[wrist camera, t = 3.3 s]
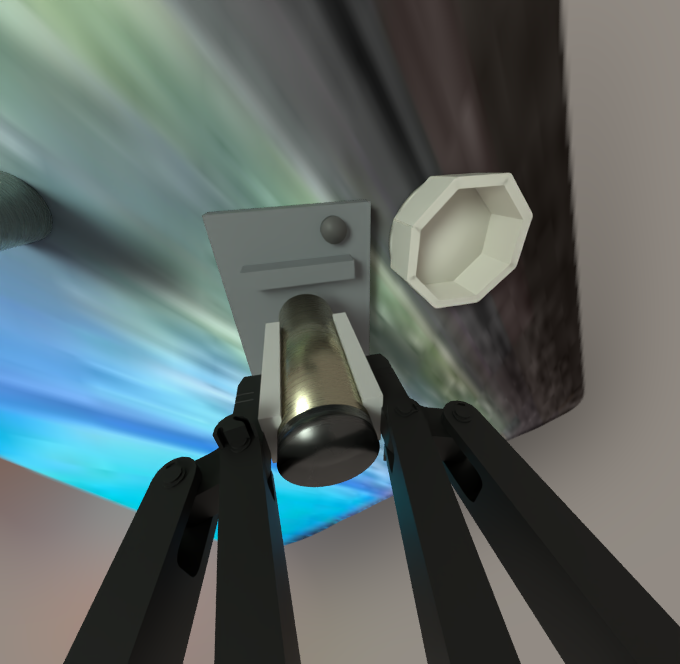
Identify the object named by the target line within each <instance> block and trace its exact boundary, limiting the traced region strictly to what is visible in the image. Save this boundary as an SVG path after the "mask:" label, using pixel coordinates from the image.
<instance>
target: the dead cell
mask: <svg viewBox="0 0 680 664" xmlns="http://www.w3.org/2000/svg"><path fill="white" fill-rule="evenodd" d="M332 314H333V313H332V310H331V308H330V306H329V304H328V303H327V302H326V301H325V300H324V299H322V298H321V297H319V296H316V295H313V294H301V295H297V296H294V297H292V298H290V299H289V300H288V301H286V302H285V303H284V305H283V306H282V307H281V309H280V312H279V320H278V322H280V327H281V392H282V422H281V424H280V426H279V428H278V432H277V469H278V471H279V473H280V475H281V476H282V477H283V478H284V479H285V480H287V481H289V482H291V483H293V484H296V485H300V486H306V487H323V486H330V485H334V484H338V483H341V482H344V481H347V480H349V479H352V478H354V477H355V476H357V475H359V474H361V473H362V472H363V471H365V470H366V469H367V468H368V467H369V466H370V465H371V464H372V463H373V462H374V461H375V459H376V458H377V456H378V453H379V449H380V444H379V440H378V437H377V434H376V432H375V429H374V426H373V423H372V421H371V418H370V415H369V413H368V411H367V410H366V408H365V407H364V406H363V404H362V401H361V398H360V395H359V393H358V390H357V387H356V384H355V381H354V378H353V376H352V373H351V370H350V367H349V364H348V361H347V359H346V356H345V353H344V350H343V347H342V344H341V342H340V339H339V336H338V333H337V330H336V327H335V325H334V322H333V316H332Z"/></svg>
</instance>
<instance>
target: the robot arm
mask: <svg viewBox="0 0 680 664" xmlns="http://www.w3.org/2000/svg"><path fill="white" fill-rule="evenodd" d="M332 316H333V322H334V325H335V327H336V330H337V333H338V336H339V339H340V342H341V344H342V347H343V350H344V353H345V356H346V359H347V361H348V364H349V367H350V370H351V373H352V376H353V378H354V381H355V384H356V387H357V390H358V393H359V395H360V398H361V401H362V404H363V406H364V407H365V408H366V410H367V411H368V413H369V415H370V418H371V421H372V423H373V426H374V429H375V432H376V434H377V437H378V440H380V438H381V434H382V437H383V439H384V442H385V444H384V461H387V466H388V471H389V476H390V481H391V486H392V490H393V495H394V500H395V505H396V510H397V515H398V520H399V525H400V530H401V535H402V540H403V544H404V550H405V554H406V559H407V564H408V569H409V574H410V579H411V584H412V588H413V594H414V598H415V603H416V608H417V613H418V618H419V623H420V628H421V633H422V638H423V643H424V648H425V653H426V657H427V663H428V664H521V663H520V661H519V658H518V655H517V653H516V650H515V648H514V645H513V643H512V640H511V638H510V635H509V632H508V630H507V627H506V625H505V622H504V619H503V617H502V614H501V612H500V609H499V607H498V604H497V601H496V599H495V596H494V594H493V591H492V589H491V586H490V583H489V581H488V579H487V576H486V573H485V571H484V568H483V566H482V563H481V560H480V558H479V555H478V553H477V550H476V547H475V545H474V542H473V540H472V537H471V535H470V532H469V529H468V527H467V524H466V522H465V519H464V517H463V514H462V512H461V509H460V506H459V504H458V501H457V499H456V496H455V493H454V491H453V488H452V486H453V487H454V489H455V490H456V492H457V494H458V495H459V497H460V498H461V500H462V501H463V503H464V505H465V506H466V508H467V509H468V511H469V513H470V514H471V516H472V517H473V519H474V520H475V522H476V523H477V525H478V527H479V528H480V530H481V532H482V533H483V535H484V536H485V538H486V539H487V541H488V543H489V544H490V546H491V547H492V549H493V550H494V552H495V553H496V555H497V557H498V558H499V560H500V561H501V563H502V565H503V566H504V568H505V569H506V571H507V572H508V574H509V575H510V577H511V579H512V580H513V582H514V583H515V585H516V587H517V588H518V590H519V591H520V593H521V595H522V596H523V598H524V599H525V601H526V602H527V604H528V606H529V607H530V609H531V610H532V612H533V614H534V615H535V617H536V618H537V620H538V621H539V623H540V625H541V626H542V628H543V629H544V631H545V632H546V634H547V636H548V637H549V639H550V640H551V642H552V644H553V645H554V647H555V648H556V650H557V651H558V653H559V655H560V656H561V658H562V659H563V661H564V662H565V664H680V627H679V625H678V624H677V623H676V622H675V621H674V620H673V619H672V618H671V617H670V616H669V615H668V614H667V613H666V612H665V610H664V609H663V608H662V607H661V606H660V605H659V604H658V603H657V602H656V601H655V600H654V599H653V598H652V597H651V595H650V594H649V593H648V592H647V591H646V590H645V589H644V588H643V587H642V586H641V585H640V584H639V583H638V581H637V580H635V578H634V577H633V576H632V575H631V574H630V573H629V572H628V571H627V570H626V569H625V568H624V567H623V566H622V564H621V563H620V562H619V561H618V560H617V559H616V558H615V557H614V556H613V555H612V554H611V553H610V552H609V551H608V549H607V548H606V547H605V546H604V545H603V544H602V543H601V542H600V541H599V540H598V539H597V538H596V537H595V535H593V533H592V532H591V531H590V530H589V529H588V528H587V527H586V526H585V525H584V524H583V523H582V522H581V520H580V519H578V517H577V516H576V515H575V514H574V513H573V512H572V511H571V510H570V509H569V508H568V507H567V505H566V504H565V503H564V502H563V501H562V500H561V499H560V498H559V497H558V496H557V495H556V494H555V493H554V492H553V490H552V489H551V488H550V487H549V486H548V485H547V484H546V483H545V482H544V481H543V480H542V479H541V478H540V477H539V476H538V474H537V473H536V472H535V471H534V470H533V469H532V468H531V467H530V466H529V465H528V464H527V463H526V462H525V461H524V459H523V458H521V456H520V455H519V454H518V453H517V452H516V451H515V450H514V449H513V448H512V447H511V446H510V444H509V443H508V442H507V441H506V440H505V439H504V438H503V437H502V436H501V435H500V434H499V433H498V432H497V431H496V429H495V428H494V427H493V426H492V425H491V424H490V423H489V422H488V421H487V420H486V419H485V418H484V417H483V416H482V414H481V413H480V412H479V411H478V410H477V409H476V408H474V407H473V406H472V405H470V404H468V403H466V402H462V401H450V402H449V403H447V404H446V405H445V407H444V408H443V409H439V408H428V407H423V406H420V405H419V404H418V403H417V402H416V401H414V400H413V399H410V398H409V397H408V395H407V393H406V392H405V390H404V388H403V386H402V384H401V383H400V381H399V379H398V377H397V376H396V374H395V372H394V370H393V368H392V367H391V365H390V363H389V361H388V360H387V359H386V358H385V357H384V356H382V355H381V354H374V355H368V356H365V355H364V352H363V350H362V348H361V346H360V344H359V341H358V339H357V337H356V335H355V333H354V330H353V328H352V326H351V324H350V322H349V319H348V317H347V315H346V313H345V312H344V313H337V314H332ZM281 422H282V392H281V327H280V322H273V323H266V325H265V338H264V350H263V363H262V374H260V375H254V376H248V377H244V378H243V379H242V381H241V382H240V384H239V385H238V389H237V396H236V400H235V406H234V411H233V414H232V415H229V416H227V417H225V418H224V419H223V420H221V421H220V422H219V423H218V425H217V426H216V427H215V429H214V432H213V437H214V439H215V441H216V443H217V445H218V446H219V448H218V449H216V450H215V451H213V452H212V453H210V454H208V455H206V456H204V457H202V458H200V459H198V460H195V461H194V460H193V459H191V458H190V457H180V458H176V459H173V460H172V461H170V462H168V463H167V464H165V465H164V466H163V467H162V468H161V469H160V470H159V471H158V472H157V473H156V475H155V476H154V478H153V479H152V481H151V483H150V485H149V488H148V490H147V492H146V494H145V496H144V498H143V500H142V502H141V504H140V506H139V508H138V510H137V512H136V514H135V516H134V519H133V521H132V523H131V525H130V527H129V529H128V531H127V533H126V535H125V537H124V539H123V541H122V543H121V545H120V547H119V550H118V552H117V554H116V556H115V558H114V560H113V562H112V564H111V566H110V568H109V570H108V572H107V575H106V576H105V578H104V580H103V583H102V585H101V587H100V589H99V591H98V593H97V595H96V597H95V599H94V601H93V603H92V605H91V608H90V610H89V612H88V614H87V616H86V618H85V620H84V622H83V624H82V626H81V628H80V630H79V632H78V634H77V636H76V638H75V641H74V643H73V645H72V647H71V649H70V651H69V653H68V655H67V657H66V659H65V661H64V663H63V664H183V660H184V656H185V652H186V648H187V644H188V640H189V636H190V632H191V628H192V624H193V619H194V615H195V611H196V607H197V603H198V599H199V595H200V591H201V586H202V583H203V579H204V575H205V571H206V566H207V562H208V558H209V554H210V550H211V546H212V542H213V538H214V534H215V530H216V526H217V522H218V551H217V553H218V554H217V587H216V588H217V589H216V590H217V591H216V623H215V627H216V628H215V660H214V664H301V661H300V654H299V648H298V641H297V634H296V627H295V620H294V613H293V606H292V600H291V593H290V586H289V579H288V572H287V566H286V559H285V552H284V545H283V539H282V532H281V525H280V518H279V511H278V505H277V498H276V491H275V484H274V477H273V474H272V471H271V458H272V461H273V463H276V462H277V432H278V428H279V426H280V424H281ZM451 484H452V486H451Z"/></svg>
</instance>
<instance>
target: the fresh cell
mask: <svg viewBox="0 0 680 664" xmlns="http://www.w3.org/2000/svg"><path fill="white" fill-rule="evenodd" d="M52 223H53V222H52V216H51V213H50V210H49V208H48V206H47V204H46V203H45V201H44V200H43V199H42V198H41V196H40V195H39V194H38V193H37V192H36V191H35V190H34V189H33V188H31V187H30V186H29V185H28V184H26V183H25V182H23V181H22V180H20V179H19V178H17V177H15V176H13V175H11V174H8V173H6V172H3V171H0V251H3V250H7V249H10V248H14V247H17V246H21V245H24V244H28V243H32V242H35V241H38V240H41V239H43V238H45V237H46V236H47V235H48V234H49V233H50V231H51V229H52Z"/></svg>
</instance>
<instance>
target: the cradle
mask: <svg viewBox="0 0 680 664" xmlns="http://www.w3.org/2000/svg"><path fill="white" fill-rule="evenodd" d="M370 215H371V202H370V201H367V200H352V201H339V202H327V203H315V204H302V205H290V206H278V207H265V208H253V209H241V210H228V211H216V212H207V213H205V214H204V215H202V218H203V221H204V224H205V228H206V231H207V234H208V237H209V240H210V243H211V247H212V250H213V253H214V256H215V259H216V263H217V266H218V269H219V272H220V275H221V278H222V282H223V285H224V288H225V291H226V294H227V298H228V301H229V304H230V307H231V310H232V313H233V317H234V320H235V323H236V326H237V329H238V333H239V336H240V339H241V342H242V345H243V348H244V352H245V355H246V358H247V361H248V364H249V368H250V371H251V374H252V376H254V375H260V374H262V363H263V350H264V338H265V325H266V323H273V322H278V320H279V312H280V309H281V307H282V306H283V305H284V303H285V302H286V301H288V300H289V299H290V298H292V297H294V296H297V295H301V294H313V295H316V296H319V297H321V298H322V299H324V300H325V301H326V302H327V303H328V304H329V306H330V308H331V310H332V313H333V314H337V313H344V312H345V313H346V315H347V317H348V319H349V322H350V324H351V326H352V328H353V330H354V333H355V335H356V337H357V339H358V341H359V344H360V346H361V348H362V350H363V352H364V355H365V356H368V355H369V325H370Z"/></svg>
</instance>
